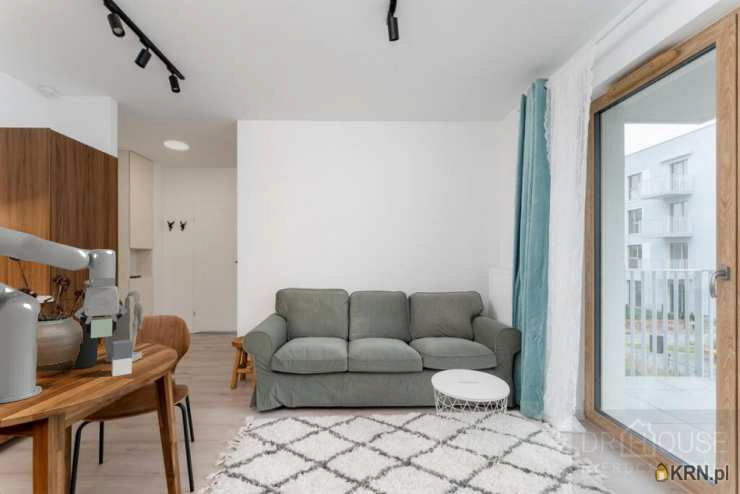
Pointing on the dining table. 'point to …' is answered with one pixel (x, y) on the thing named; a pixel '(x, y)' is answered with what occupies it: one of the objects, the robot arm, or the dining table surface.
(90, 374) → the dining table surface
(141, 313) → the sculpture
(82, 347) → the wine bottle
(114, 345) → the charcoal block
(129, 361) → the cream block
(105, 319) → the sage block
